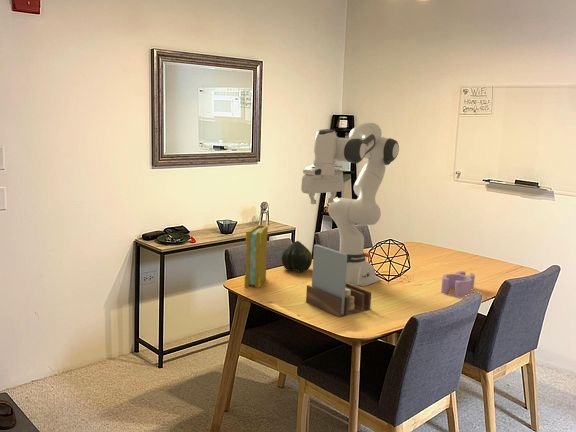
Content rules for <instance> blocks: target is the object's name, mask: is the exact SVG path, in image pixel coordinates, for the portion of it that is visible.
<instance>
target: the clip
mask: <svg viewBox="0 0 576 432" xmlns="http://www.w3.org/2000/svg"><path fill="white" fill-rule="evenodd" d="M469 274H470V275H466V271H461V270H460V271H456V273H446V274H443V275H442V280H441V287H440V288H441V291H440V294H442V293H447V294H449V289H448V288H455V289H454V295H453V296H454V297H455V298H459V297H466V296H465V295H468V294H470V295H471V291H472V290H471V289H473V288H474V286H475V276H476V274H475V273H474V272H470V273H469ZM473 290H474V289H473ZM468 296H469V295H468Z"/></svg>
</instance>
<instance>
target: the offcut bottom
mask: <svg viewBox="0 0 576 432" xmlns="http://www.w3.org/2000/svg"><path fill="white" fill-rule="evenodd" d="M354 307H355V304H354V303H352V304H349V310H348V311H351V310H354Z"/></svg>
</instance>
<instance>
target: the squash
mask: <svg viewBox="0 0 576 432" xmlns="http://www.w3.org/2000/svg"><path fill="white" fill-rule="evenodd" d="M312 255H313V254H312V252H311V251H310V250H309V249H308V247H306V246H305V245H304V244H303V243H302V242H301V241H300V240H297V241H294V242H292V243H291V244H290V245H287V247H286V248H285V249H284V251H283V252H282V255H281V263H282V266H283V268H284V269H285V270H287V271H293V270H294V271H297V272H298V273H303V272H305V271H307V270H309V269H310V267H311V265H312V264H313V256H312Z"/></svg>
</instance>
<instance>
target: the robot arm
mask: <svg viewBox="0 0 576 432" xmlns="http://www.w3.org/2000/svg"><path fill="white" fill-rule="evenodd" d="M382 133H383V132H382V128H381V127H380V126H379V125H378V124H377V123H375V122H367V123H366V122H364V123H362V124H359V125H356V126H354V127H353V128H352V129H351V130H350V132H349V135H348V137H339V136H337V135H336V131H335V130H334V129H331V128H330V129H329V128H325V129H319V130H318V131H317V132H316V133H315V134H316V135H315V139H314V147H313V153H314V159H313V164H311V165H310V166H307V167H304V168H303V170H302V174H303V176H302V178H301V187H300V188H301V192H302V193H303V194H308V196H309V197H308V198H309V199H310V204H311V205H316V204H317V199H315V195H316V194H321V193H322V194H324V193H330V196H329V198H327V199H328V200H327V201H328V203H329V204H328V205H327V206H328V207H327V209H328V211H327V212H328V215H329V217H330V218H331V219H332V220H333V222H334V223H335V224H336V227H337V229H338V232H339V250H338V251H339V252H342V253H345V254H347V271H346V283H348V284H351V285H353V286H356V287H366V286H368V285H371V284H375V283H377V282H380V280H381V278H380V277H379V276H377V275H376V269H375V267H374V266H373V265H372V264H371V263H370V262H368V260H366V258H370V255H371V254H370V253H369V252H364V250H365V249H364V246H365V236H364V235H363V233H362V232H361V231H360V230H359V229H358V228H357V226H356V225H360V226H374V225H376V224H377V223H378V222H379V220H380V219H381V215H382V213H381V212H382V211H381V208H380V206H379V205H378V204H377V202H376V196H377V193H378V190H379V188H380V186H381V184H382V181H383V179H384V176H385V172H386V169H387V167H386V166H388V165H390V164H391V163H393V162H394V161H395V160H396V158H397V157H398V155H399V151H400V146H399V142H398V140H396V139H394V138H391V137H389V138H387V137H383V136H382ZM364 159H367V162H366V163H365V164H364V165H363V167H362V169H361V170H360V171H359V174H358V176H357V178H356V180H355V182H354V184H353V191H354V194H355V195H356V196H357V198H356V199H354V198H347V197H337V198H335V197H336V196H337V192H339V193H340V192H343V191H344V189H345V188H344V187H345V185H344V183H345V181H344V173H343V171H342V170H341V168H338V169H336V161H337V162H344V163H347V162H348V163H352V164H358V163H361V162H362V161H363V160H364Z"/></svg>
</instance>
